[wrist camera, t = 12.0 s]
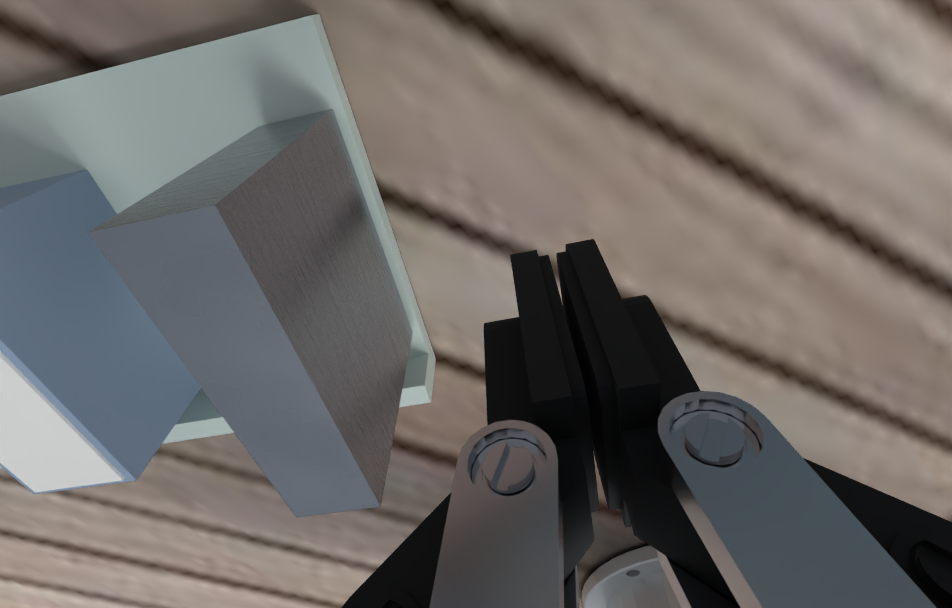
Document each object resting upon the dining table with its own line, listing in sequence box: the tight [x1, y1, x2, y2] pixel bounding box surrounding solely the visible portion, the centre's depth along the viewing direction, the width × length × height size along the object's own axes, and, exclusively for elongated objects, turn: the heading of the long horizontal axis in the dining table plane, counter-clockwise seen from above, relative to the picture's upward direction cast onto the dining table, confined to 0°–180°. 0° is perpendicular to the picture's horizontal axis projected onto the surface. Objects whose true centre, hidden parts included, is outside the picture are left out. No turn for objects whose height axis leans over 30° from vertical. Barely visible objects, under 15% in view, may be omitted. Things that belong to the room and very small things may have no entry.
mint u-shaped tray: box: [0, 14, 436, 469], centre depth 15 cm, size 23×14×10 cm, turn 102°
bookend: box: [88, 109, 413, 517], centre depth 14 cm, size 2×9×8 cm, turn 12°
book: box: [0, 169, 201, 494], centre depth 16 cm, size 4×9×6 cm, turn 11°
